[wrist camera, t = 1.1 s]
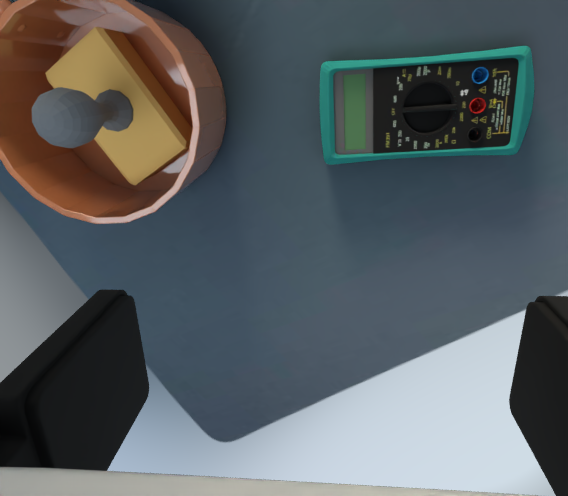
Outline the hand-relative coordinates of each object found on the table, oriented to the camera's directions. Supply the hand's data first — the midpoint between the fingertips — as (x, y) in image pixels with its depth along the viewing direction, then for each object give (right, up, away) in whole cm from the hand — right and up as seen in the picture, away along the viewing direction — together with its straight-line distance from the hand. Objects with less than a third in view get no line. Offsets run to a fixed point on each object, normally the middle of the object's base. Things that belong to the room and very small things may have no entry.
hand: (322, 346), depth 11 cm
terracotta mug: (-14, +15, +25) cm, 32 cm away
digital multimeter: (+9, +13, +23) cm, 28 cm away
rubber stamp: (-13, +14, +25) cm, 31 cm away
